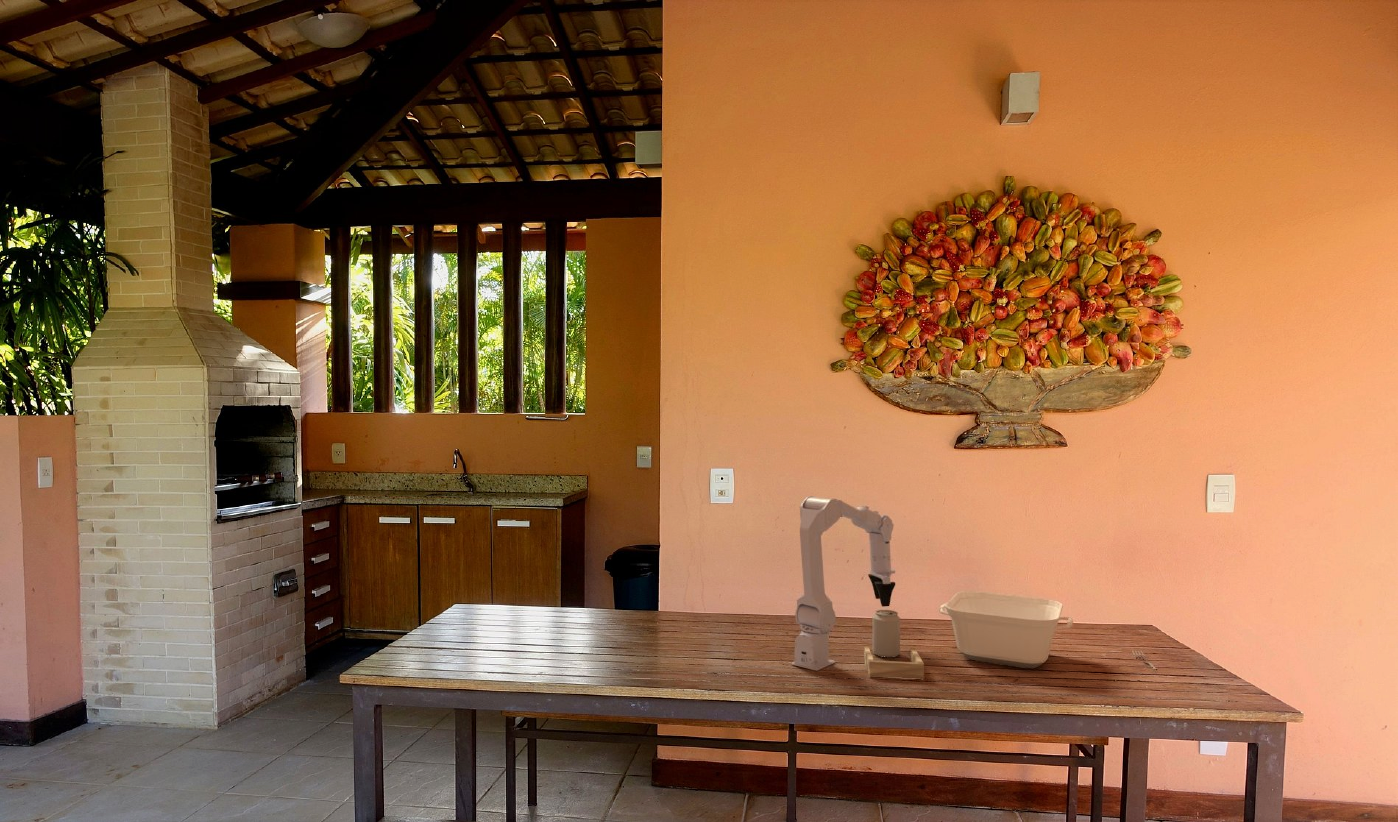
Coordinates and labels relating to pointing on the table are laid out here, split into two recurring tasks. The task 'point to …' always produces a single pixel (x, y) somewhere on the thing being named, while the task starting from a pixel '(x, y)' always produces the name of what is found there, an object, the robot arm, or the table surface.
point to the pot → (1004, 627)
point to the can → (886, 633)
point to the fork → (1144, 655)
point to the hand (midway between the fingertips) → (882, 602)
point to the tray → (894, 666)
